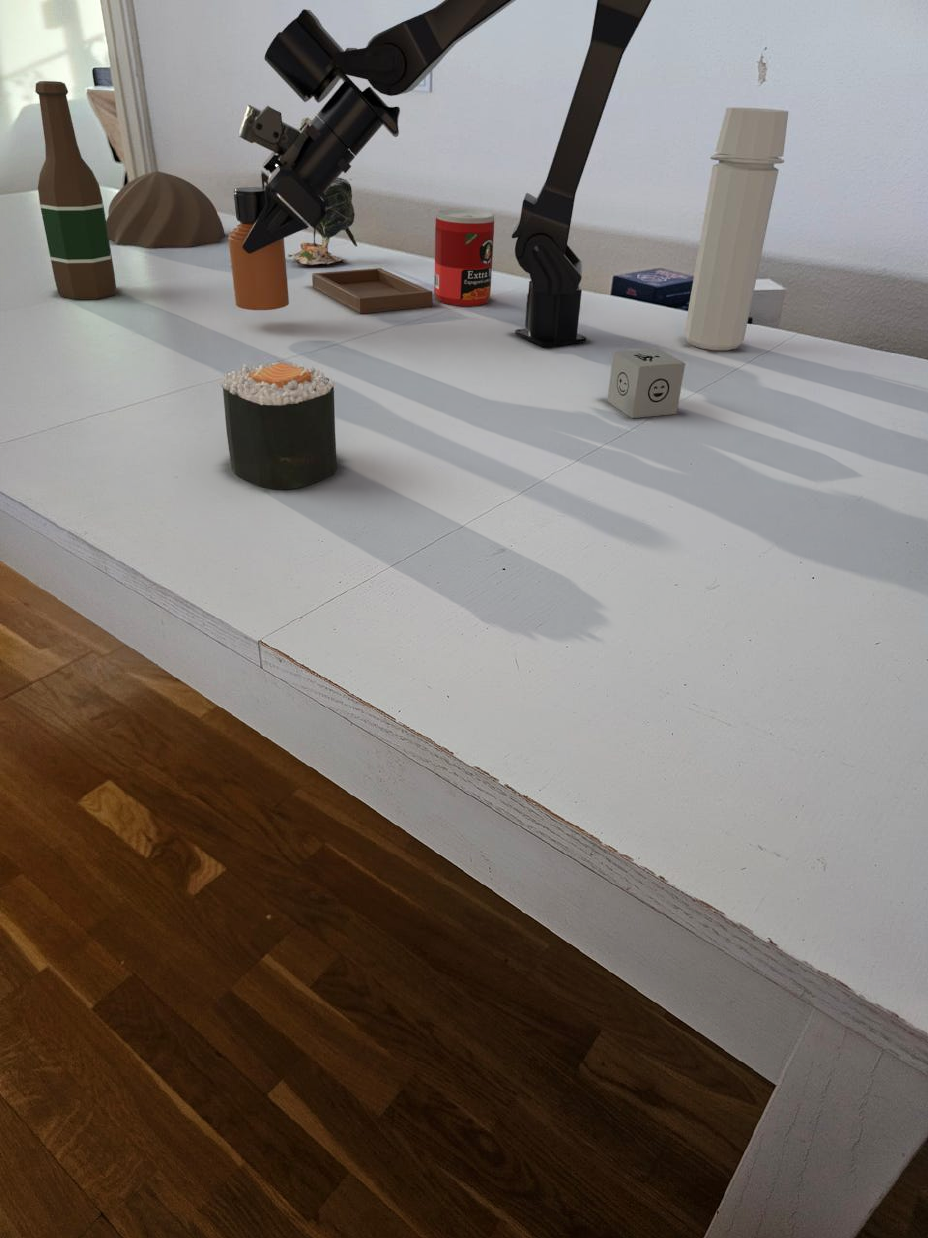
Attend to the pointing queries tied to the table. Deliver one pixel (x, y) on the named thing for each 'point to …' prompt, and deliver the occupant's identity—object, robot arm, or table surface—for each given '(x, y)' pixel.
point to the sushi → (280, 425)
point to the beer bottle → (71, 205)
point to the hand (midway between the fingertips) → (244, 244)
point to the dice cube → (645, 382)
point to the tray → (371, 290)
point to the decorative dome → (162, 214)
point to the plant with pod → (329, 223)
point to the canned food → (463, 256)
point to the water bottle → (734, 226)
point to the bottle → (258, 272)
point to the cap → (249, 203)
